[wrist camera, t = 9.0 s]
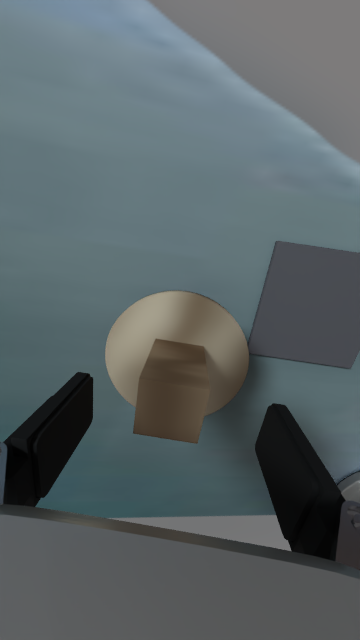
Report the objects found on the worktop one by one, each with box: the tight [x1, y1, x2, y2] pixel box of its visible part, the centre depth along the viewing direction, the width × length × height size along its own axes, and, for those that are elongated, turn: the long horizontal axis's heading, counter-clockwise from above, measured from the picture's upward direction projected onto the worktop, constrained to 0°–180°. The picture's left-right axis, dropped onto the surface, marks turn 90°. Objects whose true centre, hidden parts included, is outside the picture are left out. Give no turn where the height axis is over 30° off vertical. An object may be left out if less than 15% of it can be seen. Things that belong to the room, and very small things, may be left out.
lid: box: [105, 290, 249, 444], centre depth 13 cm, size 11×11×6 cm
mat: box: [247, 241, 360, 368], centre depth 21 cm, size 12×12×1 cm
